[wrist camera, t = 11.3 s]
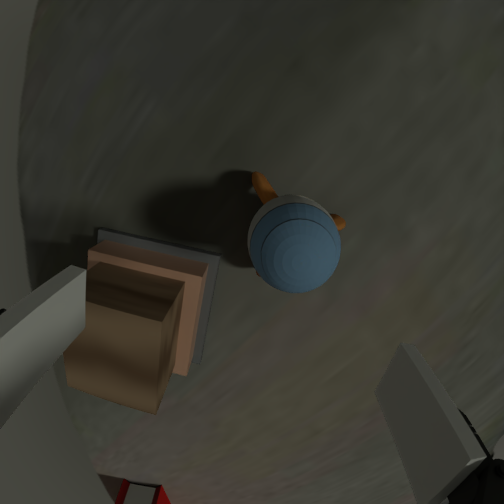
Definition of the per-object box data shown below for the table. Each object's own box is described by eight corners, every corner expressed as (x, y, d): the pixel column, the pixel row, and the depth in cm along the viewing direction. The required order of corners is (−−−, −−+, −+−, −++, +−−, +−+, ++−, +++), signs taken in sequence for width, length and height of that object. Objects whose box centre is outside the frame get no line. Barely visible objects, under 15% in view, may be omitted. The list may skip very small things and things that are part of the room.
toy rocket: (269, 279, 36) (229, 339, 22) (223, 194, 35) (153, 203, 21) (353, 238, 33) (369, 277, 19) (306, 148, 32) (286, 119, 18)
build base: (102, 227, 34) (80, 238, 29) (221, 253, 34) (214, 269, 30) (98, 331, 38) (81, 351, 33) (201, 359, 38) (194, 384, 33)
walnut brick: (100, 261, 30) (58, 292, 22) (185, 281, 30) (162, 322, 22) (99, 343, 32) (67, 385, 25) (174, 365, 33) (155, 414, 25)
